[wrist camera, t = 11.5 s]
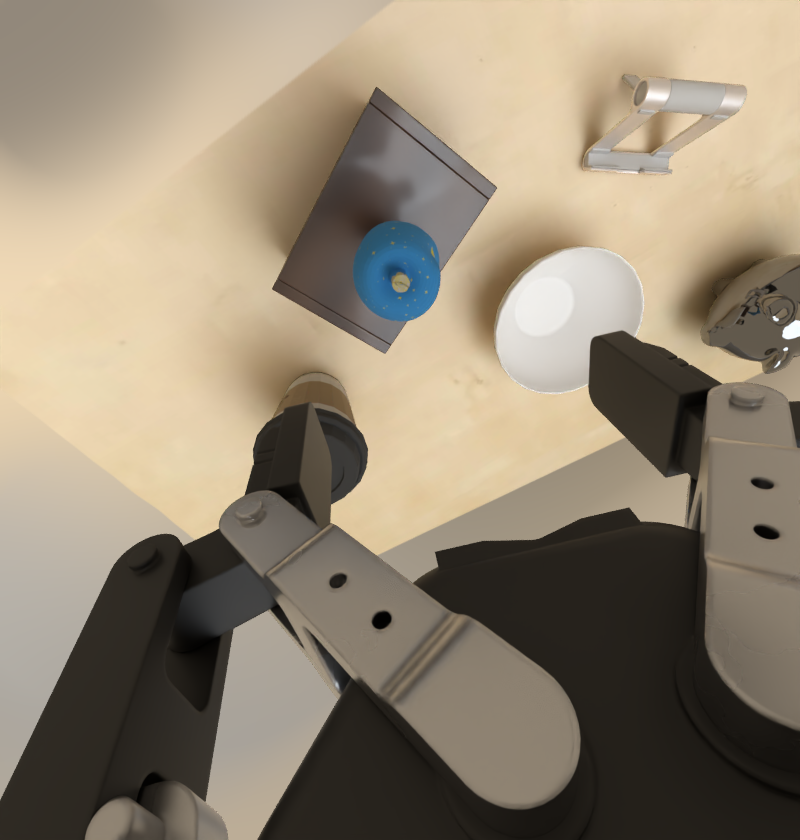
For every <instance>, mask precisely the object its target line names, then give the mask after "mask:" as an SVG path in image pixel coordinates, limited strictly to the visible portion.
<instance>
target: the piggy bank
mask: <svg viewBox="0 0 800 840" xmlns="http://www.w3.org/2000/svg"><path fill="white" fill-rule="evenodd" d="M712 291H713V293H714V294H716V295H717V298H716V299H715V301H714V303H713V305H712V306H711V309H710V311H709V313H708V316H707V320H706V323H705V324H704V326H703V327H702V329H701V339H702V341H703V343H704V344H706V345H708V346H712V347H717V348H719V349H721V350H722V351H724V352H726V353H728V354H730V355H732V356H734V357H737V358H740V359H744V360H749V361H758V362H761V363H762V370H763V372H764V373H767V374H769V373H774V372H777V371H779V370H781V369H783V368H785V367H786V366H787V365H788V364H789V363H790V362H791V360H792V358H793V357H797V356H800V254H791V255H784V256H780V257H776V258H773V259H770V260H764V259H760V260H757V261H755V262H754V263H753V264H752V266H751V268H750V269H749V270H747V271H745V272H744V273H742V274H740V275H739V276H738V277H736V278H735V279H726V278H723V279H719V280H717V281H716V282H715V283H714V285H713V287H712Z"/></svg>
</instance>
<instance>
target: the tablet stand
mask: <svg viewBox="0 0 800 840" xmlns="http://www.w3.org/2000/svg"><path fill="white" fill-rule="evenodd" d="M622 79H623V80H624V81H625V82H626V83H627V84H628V85H629V86H630V87H631V88H632V89H633V90H634V92H633V96H632V103H631V109H630V112H629V113H628V114H627V116H626V117H624V118H623V119H622V120H621V121H620V122H619V123H618V124H616V125H615V126H614V127H613V128H612V129H611V130H610V131H608V132H607V133H606V134H605V135H604V136H603V137H602V138H600V139H599V140H598V141H597V142H596V143H595V144H594V145H592V146H591V147H590V148H589V149H588V150H587V151H586V153H585V155H584V158H583V162H582V168H583V170H584V171H595V172H613V173H631V174H649V175H669V174H672V170H670V169H668V164H669V158H670V157H671V156H673V154H674V153H675V152H677V151H678V150H680V149H681V148H683V147H684V146H686V145H688V144H689V143H691V142H692V141H694V140H695V139H697V138H699V137H700V136H702V135H703V134H705V133H706V132H708V131H710V130H711V129H713V128H714V127H716V126H717V125H719V124H720V123H722V122H724V121H725V120H727V119H728V118H730V117H731V116H733V115H735V114H736V113H737V112H738V111H739V110H740V109H741V107H742V106H743V104H744V102H745V99H746V96H747V88H746V87H745V86H744V85H738V84H726V83H714V82H702V81H691V80H679V79H668V78H660V77H656V78H655V77H643V78H642V79H640V78H638V77H637V76H636V75H624V76H623V78H622ZM658 111H661V112H675V113H688V114H702V117H701V118H700V119H699V120H698V121H697V122H696V123H694V124H693V125H691V126H690V127H688V128H687V129H685V130H684V131H683V132H681V133H680V134H678V135H677V136H675V137H674V138H672V139H671V140H669V141H668V142H666V143H665V144H663V145H662V146H661V147H659V148H658V149H656V150H655V151H653V152H652V153H637V152H621V151H611V149H612V148H613V147H614V146H616V145H617V144H618V143H619V142H621V141H622V140H623V139H624V138H626V137H627V136H628V135H629V134H631V133H632V132H633V131H634V130H636V129H637V128H638V127H639V126H641V125H642V124H643V123H644V122H646V121H647V120H648V119H649V118H651V117H652V116H653V115H654V114H655V113H657V112H658Z"/></svg>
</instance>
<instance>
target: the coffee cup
mask: <svg viewBox="0 0 800 840" xmlns="http://www.w3.org/2000/svg"><path fill="white" fill-rule="evenodd" d="M307 402H311V403H312V404H313V406H314V409H315V411H316V414H317V417H318V420H319V422H320V425H321V428H322V431H323V434H324V437H325V439H326V442H327V445H328V448H329V452H330V457H331V463H332V477H331V504H333V503H335V502H337V501H338V500H340V499H342V498H344V497H345V496H346V495H347V494H348V493H349V492H351V491H352V490H353V489H354V488H355V486H356V485H357V484H358V483H359V482H360V481H361V479H362V476H363V474H364V472H365V470H366V465H367V457H368V448H367V445H366V442H365V440H364V437H363V434H362V433H361V432H360V431H359V430H358V429H357V427H356V424H355V421H354V417H353V414H352V411H351V407H350V404H349V400H348V397H347V394H346V392H345V389H344V388H343V387H342V385H341V384H340V383H339V382H338V380H336V379H335V378H333V377H332V376H330V375H327V374H324V373H308V374H305V375H302V376H301V377H299V378H298V379H296V380H295V381H294V382H293V383H292V384H291V385H290V387H289V388H288V390H287V391H286V393H285V395H284V397H283V399H282V401H281V403H280V405H279V406H278V408H277V410H276V412H275V414H274V416H273V418H272V420H270V421H269V422H267V423H266V425H265V426H264V427H263V428H262V430H261V431H260V432H259V434H258V435H257V437H256V441H255V445H254V448H253V459H254V460H255V456H256V455H257V449H258V445H259V442H260V440H261V439H262V438H263V436H264V435H265V434H266V433H267V432H268V430H269V429H270V428H275V427H279V426H280V424H281V420H282V415H283V411H284V408H285V407H289V406H294V405H298V404H302V403H307Z"/></svg>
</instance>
